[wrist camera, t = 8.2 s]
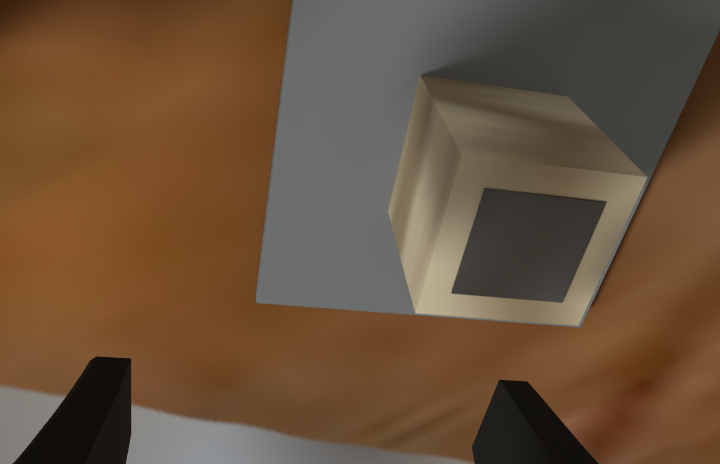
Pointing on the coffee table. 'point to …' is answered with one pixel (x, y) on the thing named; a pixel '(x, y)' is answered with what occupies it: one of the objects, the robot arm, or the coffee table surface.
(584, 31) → the mat
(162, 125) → the coffee table surface
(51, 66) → the coffee table surface
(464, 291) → the birch block
